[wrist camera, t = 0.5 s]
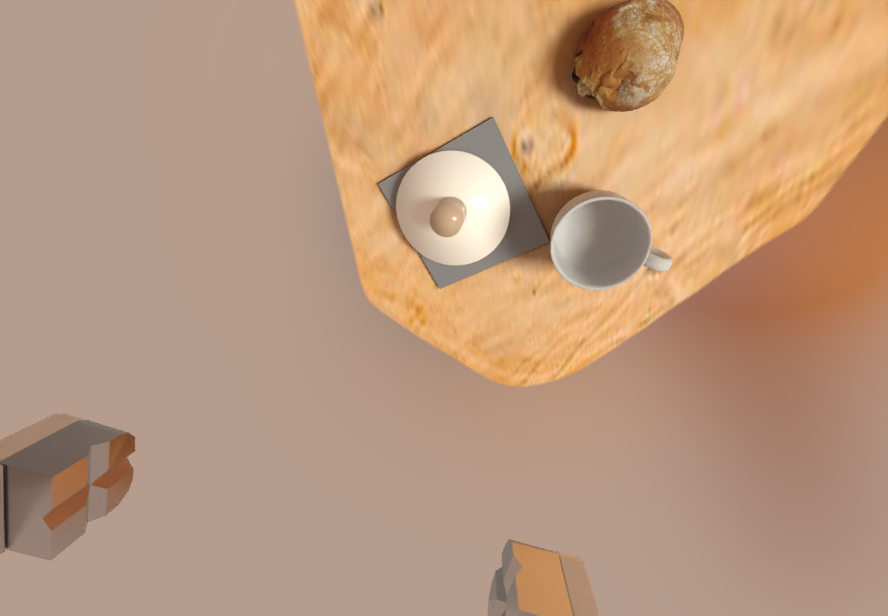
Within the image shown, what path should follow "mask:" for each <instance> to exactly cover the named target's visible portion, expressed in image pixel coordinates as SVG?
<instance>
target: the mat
mask: <svg viewBox="0 0 888 616" xmlns="http://www.w3.org/2000/svg"><path fill="white" fill-rule="evenodd" d="M443 150H462V151H466V152H470V153H472V154H475V155H477V156H479V157H481V158H482V159H484V160H486V161H487V162H488V163H489V164H491V165H492V166H493V167H494V168H495V169H496V171H497V172H498V173H499V175H500V176H501V177H502V179H503V181H504V183H505V185H506V188H507V190H508V194H509V198H510V218H509V224H508V227H507V230H506V233H505V235H504V237H503V239H502V240H501V242H500V243H499V245H498V246H497V247H496V248H495V249H494V250H493V251H492V252H491V253H490V254H489V255H487V256H486V257H484V258H482V259H480V260H478V261H476V262H473V263H470V264H466V265H446V264H441V263H438V262H435V261H433V260H430V259H428V258H427V257H425V256H423V255H422V254H420V253H419V252H418V253H419V255H420V256H421V258H422V260H423V261H424V263H425V265H426V266H427V268H428V270H429V271H430V273H431V275H432V277H433V278H434V280H435V282H436V283H437V285H438V287H439V288H440V289H441V288H443V287H446V286H448V285H450V284H453V283H455V282H457V281H460V280H462V279H464V278H467V277H469V276H471V275H474V274H476V273H479V272H481V271H483V270H486V269H488V268H490V267H493V266H495V265H497V264H500V263H502V262H504V261H507V260H509V259H512V258H514V257H516V256H519V255H521V254H523V253H526V252H528V251H530V250H533V249H535V248H537V247H540V246H542V245H545V244H547V243H549V242H550V240H549V238H548V236H547V234H546V232H545V229H544V227H543V225H542V223H541V221H540V219H539V216H538V214H537V212H536V210H535V208H534V205H533V203H532V201H531V199H530V197H529V194H528V192H527V190H526V188H525V186H524V183H523V181H522V179H521V177H520V175H519V173H518V170H517V168H516V166H515V164H514V162H513V159H512V157H511V155H510V153H509V151H508V148H507V146H506V144H505V142H504V140H503V137H502V135H501V133H500V131H499V129H498V127H497V124H496V122H495V120H494V118H493V117H492V118H491V119H489V120H487V121H486V122H484V123H482V124H480V125H479V126H477V127H475V128H474V129H472V130H470V131H468V132H467V133H465V134H463V135H461V136H460V137H458V138H456V139H455V140H453V141H451V142H449V143H448V144H446V145H444V146H443V147H441V148H439V149H437V150H436V151H434V152H432V153H435V152H438V151H443ZM432 153H430V154H432ZM430 154H429V155H430ZM427 156H428V155H427ZM425 157H426V156H425ZM420 160H421V159H420ZM420 160H418V161H420ZM418 161H417V162H418ZM417 162H415V163H413V164H412V165H410V166H408V167H406V168H405V169H403V170H401V171H399V172H398V173H396V174H394V175H393V176H391V177H389V178H387V179H386V180H384V181H382V182H380V183H379V184H378V185H379V187H380V189H381V190H382V192H383V194H384V195H385V197H386V199H387V200H388V202H389V204H390V206H391V207H392V209H393V211H394V212H395V214H396V216H397V212H396V199H397V193H398V189H399V186H400V184H401V182H402V180H403V178H404V176H405V175H406V173H407V172H408V171H409V170H410V168H411V167H412V166H413V165H415V164H416V163H417Z"/></svg>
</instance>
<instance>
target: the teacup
mask: <svg viewBox="0 0 888 616" xmlns="http://www.w3.org/2000/svg"><path fill="white" fill-rule="evenodd" d="M651 245H652V230H651V226H650V223H649V220H648V218H647V217H646V215H645V214H644V213H643V211H642V210H641V209H640V208H639V207H637V206H636V205H635V204H633V203H632V202H630V201H629V200H627V199H626V198H624V197H623V196H621V195H619V194H616V193H613V192H609V191H602V190H601V191H590V192H586V193H583V194H581V195H578V196H576V197H574V198H573V199H572V200H570V201H569V202H568V203H566V204H565V205H564V206H563V207H562V209H561V210H560V211H559V213H558V214H557V216H556V218H555V220H554V222H553V225H552V229H551V237H550V255H551V259H552V262H553V264H554V266H555V268H556V270H557V271H558V273H559V274H560V275H561V276H562V277H563V278H564V279H565V280H566V281H567V282H569V283H570V284H573V285H574V286H577V287H579V288H583V289H588V290H605V289H609V288H613V287H616V286H619V285H621V284H623V283H625V282H626V281H628V280H629V279H630V278H632V277H633V276H634V275H635V274H636V273H637V272H638V271H639V270H640V268H641V267H642V266H643V265H644V266H646V267H649V268H651V269H653V270H656V271H662V272H664V271H667V270H668V269H669V268H670V266H671V264H672V258H671V257H670V256H669V255H668V254H666V253H665V252H663V251H661V250H659V249H657V248H655V247H653V246H651Z"/></svg>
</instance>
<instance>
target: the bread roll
mask: <svg viewBox="0 0 888 616" xmlns="http://www.w3.org/2000/svg"><path fill="white" fill-rule="evenodd" d="M683 33H684V26H683V21H682V18H681V15H680V14H679V12H678V10H677V9H676V8H675V7H674V6H673V5H672V4H671V3H670V2H668V1H667V0H629V1H626V2H625V3H622V4H619V5H617V6H615V7H612V8H611V9H609V10H608V11H606V12H605V13H603V14H602V15H600V16H599V17H598V18H597V19H595V20H594V21H593V22H592V24H591V25H590V26H589V28H588V29H587V30H586V31H585V32H584V33H583V35H582V37H581V39H580V42H579V46H578V49H577V53H576V55H575V63H574V66H575V68H574V71H573V73H572V79H573V80H574V81H575V82H576V83H577V85H576V88H577V91H578V94H579V95H581V96H582V97H584V96H585V95H586V96H587V97H589V98H595V99H596V100H597V101H598V104H600V106H601V107H602V109H609V110H610V111H620V112H624V111H632V110H634V109H638V108H640V107H643V106H645V105H647V104H649V103H650V102H652V101H654V100H655V99H656V98H657V97H658V96H659V95H660V94H661V92H662V91H663V90H664V89H665V87H666V86H667V85H668V84H669V82H670V81H671V79H672V77H673V76H674V74H675V69H676V65H677V60H678V56H679V52H680V46H681V43H682V40H683ZM596 88H597V89H596Z"/></svg>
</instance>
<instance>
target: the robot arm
mask: <svg viewBox="0 0 888 616" xmlns="http://www.w3.org/2000/svg"><path fill="white" fill-rule="evenodd" d="M134 451H135V437H134V436H133V435H131V434H130V433H128V432H124V431H121V430H118V429H115V428H112V427H108V426H105V425H102V424H99V423H95V422H92V421H89V420H83V419H80V418H77V417H74V416H71V415H68V414H54V415H52V416H50V417H47V418H45V419H43V420H41V421H39V422H37V423H35V424H33V425H31V426H29V427H26V428H25V429H22V430H20V431H18V432H16V433H14V434H12V435H10V436H8V437H6V438H4V439H2V440H0V554H1V553H3V552H5V549H7V550H11V551H15V552H19V553H23V554H27V555H31V556H35V557H39V558H43V559H47V560H52V559H53V558H55V557H56V556H57V555H58V554H59V553H61V552H62V551H63V550H64V549H66V548H67V547H68V546H69V545H71V544H72V543H73V542H74V541H75V540H77V539H78V538H79V537H80V536H82V535H83V534H84V533H85V531H86V527H87V523H88V522H89V521H92V520H95V519H97V518H100V517H103V516H106V515H107V514H108V513H109V512H111V511H112V510H113V509H114V508H115V507H116V506H117V505H118V504H119V503H120V502H121V500H122V499H123V498H124V496H125V495H126V493H127V492H128V491H129V488H130V485H131V482H132V479H133V467H132V466H131V464H130V462H129V460H128V457H129V456H130V455H131V454H132V453H133V452H134ZM502 565H503V566H502V567H501V568H500V569H498V570H497V571H496V572H495V575H494V578H493V581H492V585H491V589H490V595H489V601H488V616H600V615H599V612H598V609H597V605H596V602H595V599H594V596H593V592H592V589H591V586H590V582H589V579H588V576H587V572H586V569H585V566H584V562H583V561H582V560H581V558H579V557H575V556H572V555H568V554H564V553H560V552H554V551H551V550H547V549H543V548H539V547H536V546H532V545H528V544H525V543H521V542H517V541H514V540H510V539H509V540H508V541H507V543H506V544H505V547H504V549H503V552H502Z"/></svg>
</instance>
